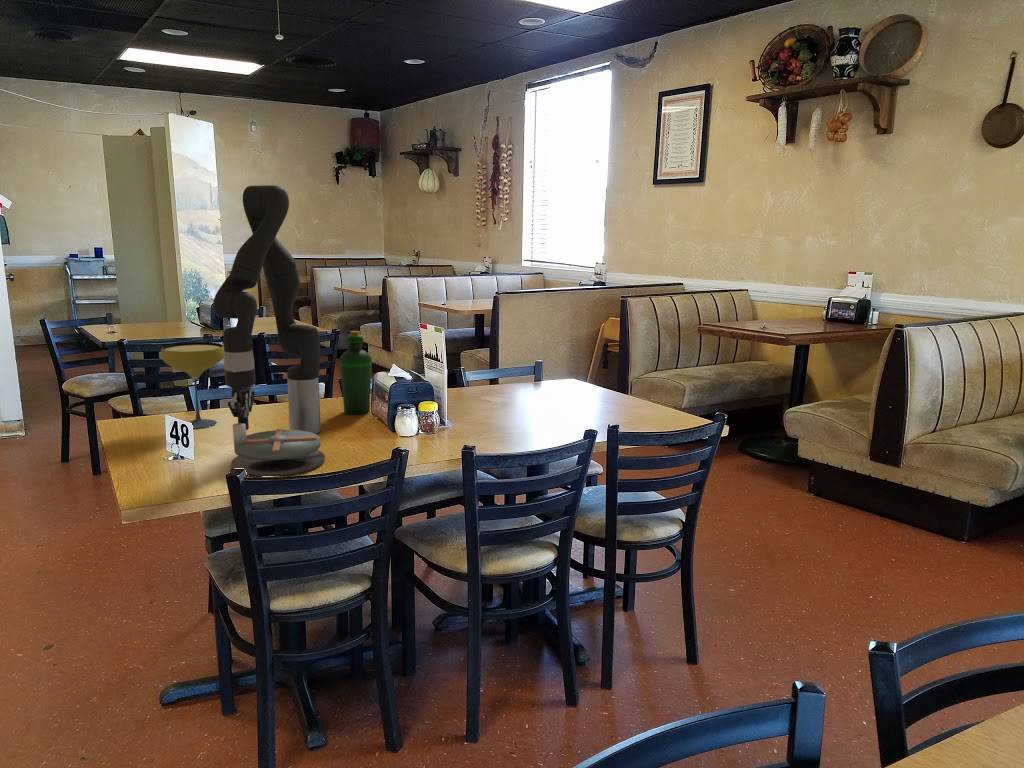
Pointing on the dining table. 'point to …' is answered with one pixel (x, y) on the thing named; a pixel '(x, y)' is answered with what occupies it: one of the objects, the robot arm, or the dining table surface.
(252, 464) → the base
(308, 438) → the handwheel
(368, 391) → the bottle
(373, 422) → the dining table surface
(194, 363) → the cocktail glass
